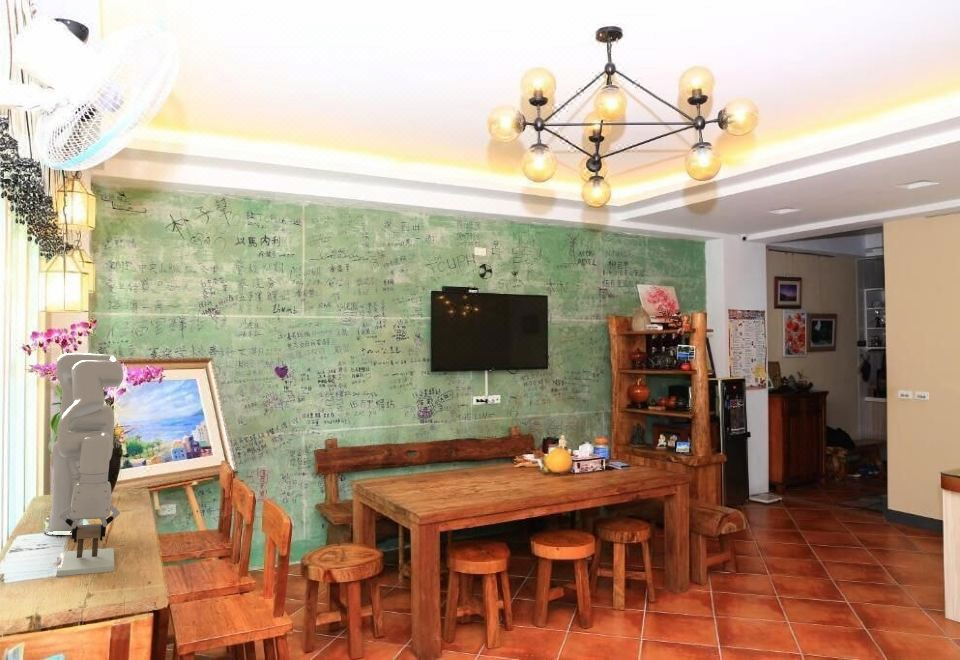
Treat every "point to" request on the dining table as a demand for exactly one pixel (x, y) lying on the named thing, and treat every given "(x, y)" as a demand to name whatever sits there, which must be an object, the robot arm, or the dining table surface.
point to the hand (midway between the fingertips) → (88, 539)
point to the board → (87, 562)
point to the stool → (88, 537)
